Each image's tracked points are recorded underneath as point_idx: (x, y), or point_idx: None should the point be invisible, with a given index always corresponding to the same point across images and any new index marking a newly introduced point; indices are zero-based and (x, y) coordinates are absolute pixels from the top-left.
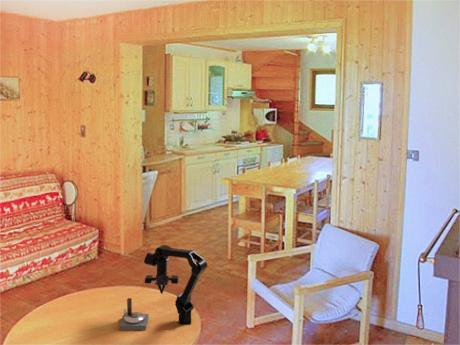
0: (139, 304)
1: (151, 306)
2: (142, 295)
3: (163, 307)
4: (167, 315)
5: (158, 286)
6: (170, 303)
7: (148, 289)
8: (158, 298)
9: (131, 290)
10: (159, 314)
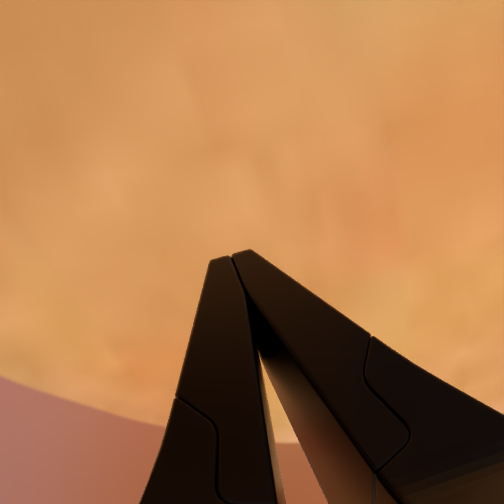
0: (442, 239)
1: (332, 238)
2: (423, 362)
3: (208, 256)
4: (79, 84)
5: (479, 419)
6: (168, 339)
7: None
8: None
9: (494, 385)
10: (198, 87)
